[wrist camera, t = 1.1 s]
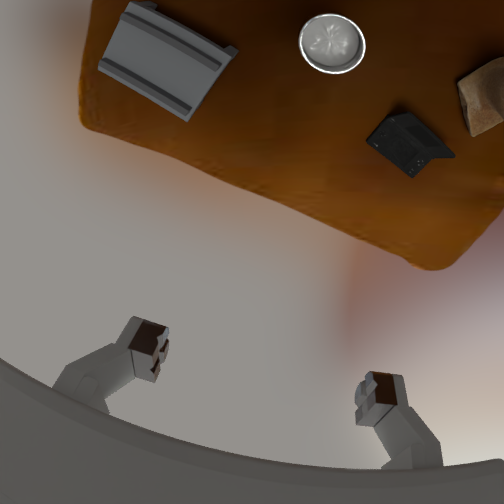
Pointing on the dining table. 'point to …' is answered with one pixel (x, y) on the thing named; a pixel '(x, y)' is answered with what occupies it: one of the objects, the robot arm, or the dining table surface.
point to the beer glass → (331, 42)
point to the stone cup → (483, 97)
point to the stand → (163, 59)
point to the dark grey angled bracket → (407, 143)
